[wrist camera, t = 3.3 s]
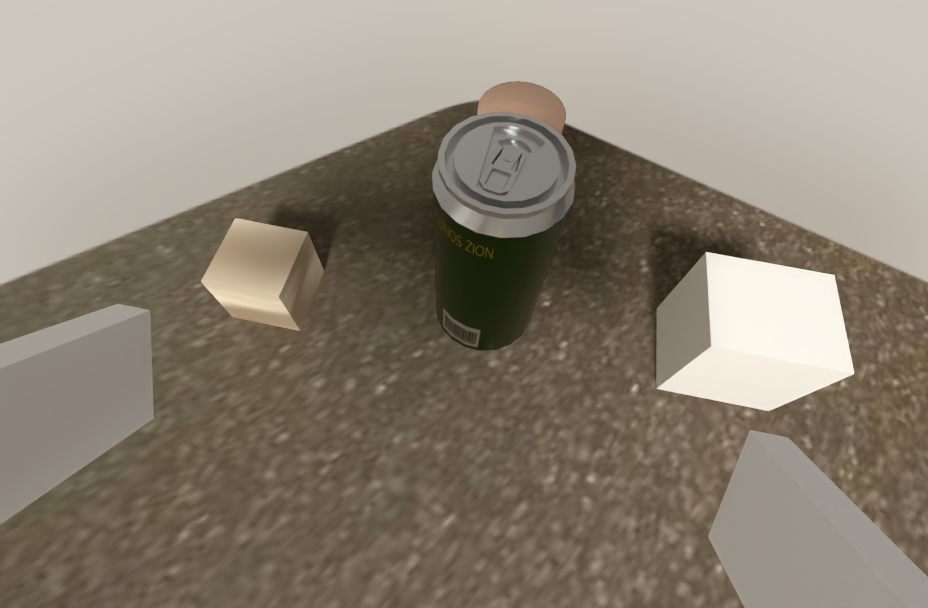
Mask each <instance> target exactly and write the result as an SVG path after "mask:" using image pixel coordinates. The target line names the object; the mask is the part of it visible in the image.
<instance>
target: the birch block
mask: <svg viewBox="0 0 928 608" xmlns="http://www.w3.org/2000/svg"><path fill="white" fill-rule="evenodd" d="M323 274H324V269H323V267H322V265H321V262H320V260H319V257H318V255H317V253H316V250H315V248H314V246H313V243H312V241H311V239H310V236H309V234H308V232H305V231H300V230H295V229H290V228H284V227H279V226H274V225H269V224H263V223H258V222H253V221H248V220H242V219H237V218H235V220H234V222H233V224H232V225H231V227H230V229H229V231H228V233H227V235H226V236H225V238H224V240H223V242H222V244H221V246H220V247H219V249H218V251H217V253H216V255H215V257H214V258H213V260H212V262H211V264H210V266H209V267H208V269H207V271H206V273H205V275H204V277H203V278H202V280H201V282H202V283H203V284H204V286H205V287H206V288H207V289H208V290H209V291H210V292H211V293H212V294H213V296H214V297H215V298H216V299H217V300H218V301H219V302H220V303H221V305H222V306H223V307H224V308H225V309H226V310H227V311H228V312H229V314H230V315H231V316H232V317H235V318H240V319H245V320H250V321H255V322H260V323H265V324H269V325H274V326H279V327H284V328H289V329H294V330H299V331H301V328H302V326H303V323H304V321H305V318H306V316H307V313H308V311H309V308H310V306H311V303H312V301H313V298H314V296H315V293H316V291H317V289H318V286H319V284H320V281H321V279H322V276H323Z"/></svg>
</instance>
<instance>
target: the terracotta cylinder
mask: <svg viewBox="0 0 928 608" xmlns="http://www.w3.org/2000/svg"><path fill="white" fill-rule="evenodd" d="M488 112H514V113H519V114H524V115H529V116H532V117H534V118H536V119H538V120H541V121H543V122H545V123H547V124H549V125H550V126H551V127H553V128H554V129H555V130H556V131H558V132H559V133H560V134H562V130H563V127H564V123H565V118H566V112H565V108H564V106H563V104H562V102H561V101H560V99H559V98H558V97H557V96H556V95H555V94H554V93H552V92H551V91H549V90H548V89H546V88H544V87H541V86H539V85H536V84H532V83H527V82H507V83H502V84H499V85H497V86H494V87H493V88H491V89H489V90H488V91H486V92H485V94H484V95H483V96H482V97H481V99H480V101H479V104H478V113H477V115H480V114H484V113H488Z"/></svg>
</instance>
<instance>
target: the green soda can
mask: <svg viewBox="0 0 928 608" xmlns="http://www.w3.org/2000/svg"><path fill="white" fill-rule="evenodd" d="M575 170H576V162H575V158H574V154H573V150H572V148H571V147H570V146H569V144H568V143H567V141H566V140H565V138H564V137H563V135H561V134H560V133H559V132H558V131H556V130H555V129H554V128H553V127H551V126H550V125H549V124H547V123H545V122H543V121H541V120H538V119H536V118H534V117H532V116H529V115H524V114H519V113H514V112H488V113H484V114H480V115H476V116H472V117H470V118H468V119H466V120H464V121H462V122H461V123H459V124H457V125H455V126H454V127H453V128H452V129H451V131H450V132H449V133H448V134H447V135H446V136H445V137H444V138H443V141H442V144H441V146H440V149H439V152H438V158H437V161H436V164H435V166H434V169H433V172H432V185H433V216H434V247H435V278H436V307H437V317H438V319H439V321H440V324H441V326H442V328H443V329H444V331H445V332H446V333H447V334H448V335H449V336H450V337H451V338H452V339H453V340H455V341H456V342H458V343H460V344H461V345H463V346H465V347H468V348H472V349H476V350H496V349H499V348H502V347H504V346H507V345H510V344H511V343H512V342H514V341H515V340H516V339H517V338H519V337H520V336H521V335H522V333H523V332H524V330H525V329H526V327H527V325H528V324H529V321H530V318H531V315H532V313H533V310H534V307H535V305H536V302H537V299H538V296H539V294H540V291H541V288H542V285H543V283H544V280H545V277H546V275H547V272H548V269H549V266H550V264H551V261H552V258H553V255H554V253H555V250H556V247H557V245H558V242H559V239H560V236H561V234H562V231H563V228H564V225H565V223H566V220H567V217H568V215H569V212H570V209H571V206H572V204H573V199H574V193H575V187H576V185H575V181H574V176H575Z"/></svg>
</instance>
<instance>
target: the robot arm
mask: <svg viewBox="0 0 928 608" xmlns="http://www.w3.org/2000/svg"><path fill="white" fill-rule="evenodd" d="M152 419H154V413H153V383H152V353H151V324H150V310H146V309H141V308H136V307H131V306H126V305H121V304H116V305H113V306H110V307H107V308H104V309H101V310H98V311H95V312H92V313H89V314H86V315H84V316H81V317H78V318H75V319H72V320H69V321H66V322H63V323H60V324H57V325H54V326H51V327H48V328H45V329H43V330H40V331H37V332H34V333H31V334H28V335H25V336H22V337H19V338H16V339H13V340H10V341H7V342H4V343H1V344H0V524H2V523H3V522H5V521H6V520H7V519H9V518H10V517H12V516H13V515H15V514H16V513H18V512H19V511H20V510H22V509H23V508H25V507H26V506H28V505H29V504H31V503H32V502H33V501H35V500H36V499H38V498H39V497H41V496H42V495H44V494H45V493H47V492H48V491H49V490H51V489H52V488H54V487H55V486H57V485H58V484H60V483H61V482H62V481H64V480H65V479H67V478H68V477H70V476H71V475H73V474H74V473H75V472H77V471H78V470H80V469H81V468H83V467H84V466H86V465H87V464H89V463H90V462H91V461H93V460H94V459H96V458H97V457H99V456H100V455H102V454H103V453H104V452H106V451H107V450H109V449H110V448H112V447H113V446H115V445H116V444H117V443H119V442H120V441H122V440H123V439H125V438H126V437H128V436H129V435H131V434H132V433H133V432H135V431H136V430H138V429H139V428H141V427H142V426H144V425H145V424H146V423H148V422H149V421H151V420H152ZM708 538H709V540H710V542H711V544H712V545H713V547H714V549H715V551H716V553H717V555H718V557H719V559H720V561H721V563H722V565H723V567H724V569H725V571H726V573H727V574H728V576H729V578H730V580H731V582H732V584H733V586H734V588H735V590H736V592H737V594H738V596H739V598H740V600H741V602H742V604H743V605H744V607H745V608H928V577H927V576H926V575H925V574H924V573H923V572H922V571H921V570H920V569H919V568H918V567H917V566H916V565H915V564H914V563H913V562H912V561H911V560H910V559H909V558H908V557H907V556H906V555H905V554H904V553H903V552H902V551H901V550H900V549H899V548H898V547H897V546H896V545H895V544H894V543H893V542H892V541H891V540H890V539H889V538H888V537H887V536H886V535H885V534H884V533H883V532H882V531H881V530H880V529H879V528H878V527H877V526H876V525H875V524H874V523H873V522H872V521H871V520H870V519H869V518H868V517H867V516H866V515H865V514H864V513H863V512H862V511H861V510H860V509H859V508H858V507H857V506H856V505H855V504H854V503H853V502H852V501H851V500H850V499H849V498H848V497H847V496H846V495H845V494H844V493H843V492H842V491H841V490H840V489H839V488H838V487H837V486H836V485H835V484H834V483H833V482H832V481H831V480H830V479H829V478H828V477H827V476H826V475H825V474H824V473H823V472H822V471H821V470H820V469H819V468H818V467H817V466H816V465H815V464H814V463H813V462H812V461H811V460H810V459H809V458H808V457H807V456H806V455H805V454H804V453H803V452H802V451H801V450H800V449H799V448H798V447H797V446H796V445H795V444H794V443H793V442H792V441H791V440H790V439H789V438H787V437H782V436H777V435H772V434H767V433H762V432H757V431H752V430H750V431H749V434H748V436H747V439H746V441H745V444H744V447H743V449H742V452H741V454H740V457H739V459H738V462H737V464H736V467H735V469H734V472H733V474H732V477H731V480H730V482H729V485H728V487H727V490H726V492H725V495H724V497H723V500H722V502H721V505H720V507H719V510H718V513H717V515H716V518H715V520H714V523H713V525H712V528H711V530H710V533H709V535H708Z"/></svg>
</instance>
